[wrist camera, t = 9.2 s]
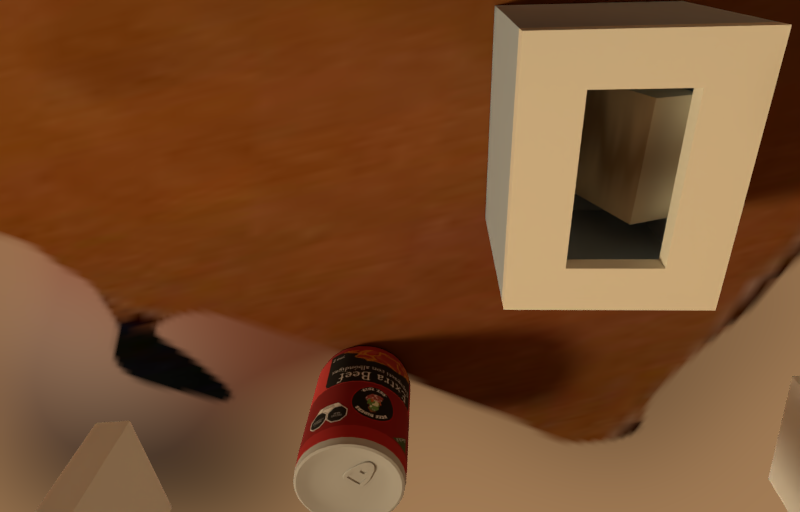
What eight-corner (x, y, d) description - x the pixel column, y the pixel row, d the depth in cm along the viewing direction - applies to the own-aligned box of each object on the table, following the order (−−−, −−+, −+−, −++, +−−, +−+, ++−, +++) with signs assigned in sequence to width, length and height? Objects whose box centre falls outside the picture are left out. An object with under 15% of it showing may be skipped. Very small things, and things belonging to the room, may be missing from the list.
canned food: (425, 360, 48) (423, 465, 38) (389, 426, 52) (380, 537, 42) (337, 329, 47) (313, 429, 37) (307, 399, 51) (278, 506, 41)
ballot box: (494, 5, 35) (522, 31, 25) (681, 0, 35) (791, 24, 24) (485, 217, 42) (503, 309, 31) (642, 216, 41) (715, 310, 31)
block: (571, 72, 35) (656, 98, 29) (612, 69, 36) (701, 93, 30) (556, 182, 38) (629, 224, 33) (594, 177, 39) (671, 216, 34)
